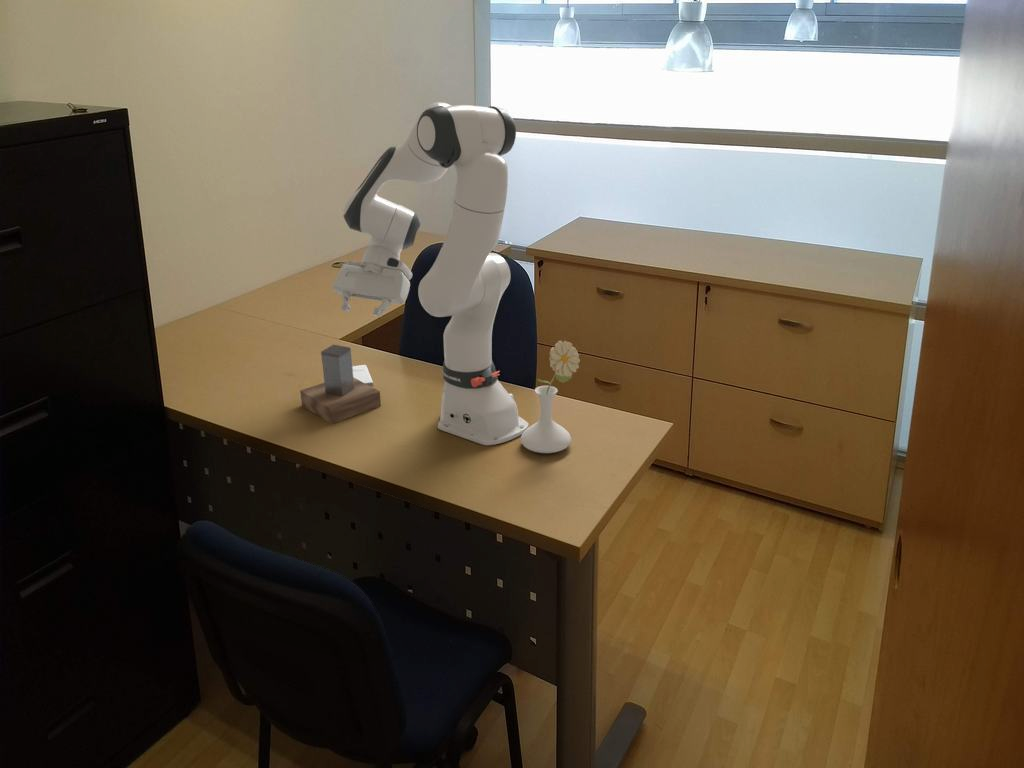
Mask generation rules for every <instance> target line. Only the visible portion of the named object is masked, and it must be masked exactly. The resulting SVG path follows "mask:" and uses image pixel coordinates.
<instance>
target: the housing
mask: <svg viewBox="0 0 1024 768" xmlns="http://www.w3.org/2000/svg"><path fill="white" fill-rule="evenodd" d="M320 354H321V363H322V371H323V383H325V392H326V393H327V394H332V395H337V396H341V397H343V396H345V395H346V394H347V393H349V392H350V391H352V390H353V389H354V380H353V369H352V366H353V361H352V351H351V347H349V346H345V345H344V346H343V345H337V344H332V345H330V346H328V347H326V348H325V349H323V350H322V351H321V352H320Z"/></svg>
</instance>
